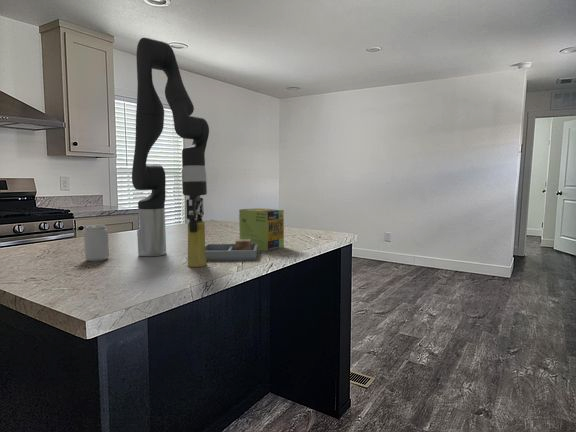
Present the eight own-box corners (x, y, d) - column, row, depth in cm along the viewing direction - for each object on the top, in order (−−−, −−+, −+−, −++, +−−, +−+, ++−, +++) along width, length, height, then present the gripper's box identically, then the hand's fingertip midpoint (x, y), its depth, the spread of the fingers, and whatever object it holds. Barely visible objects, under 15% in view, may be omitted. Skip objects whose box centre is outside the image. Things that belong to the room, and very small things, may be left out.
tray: (198, 260, 134) (198, 251, 133) (206, 252, 148) (206, 243, 148) (255, 260, 134) (255, 250, 134) (257, 251, 149) (257, 243, 148)
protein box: (268, 251, 150) (267, 211, 148) (239, 247, 159) (238, 209, 157) (284, 247, 158) (284, 209, 156) (256, 243, 167) (255, 207, 166)
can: (99, 262, 132) (97, 227, 131) (80, 261, 134) (78, 226, 133) (113, 257, 140) (112, 224, 138) (95, 257, 141) (93, 224, 140)
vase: (209, 263, 130) (208, 220, 128) (203, 267, 124) (202, 223, 122) (191, 263, 130) (190, 220, 129) (184, 267, 124) (183, 223, 123)
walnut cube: (235, 255, 139) (235, 241, 138) (237, 252, 144) (236, 239, 143) (249, 255, 139) (249, 241, 138) (250, 252, 144) (250, 239, 143)
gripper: (201, 180, 117) (203, 233, 118) (210, 180, 131) (211, 227, 133) (176, 180, 117) (179, 234, 118) (187, 180, 131) (189, 228, 132)
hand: (196, 230), depth 125 cm, fingers open, 8 cm apart
